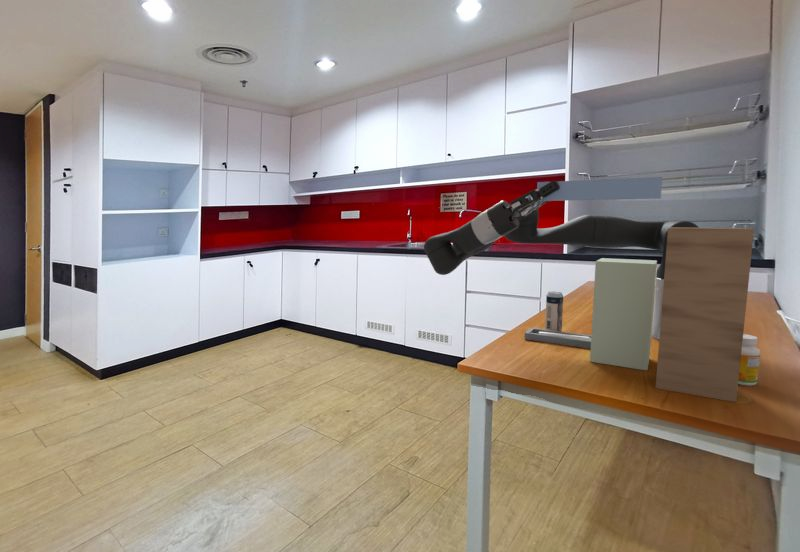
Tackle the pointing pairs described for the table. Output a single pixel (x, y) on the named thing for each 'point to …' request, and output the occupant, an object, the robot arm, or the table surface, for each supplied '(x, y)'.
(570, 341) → the pen tray
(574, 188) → the blue block
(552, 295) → the beer can
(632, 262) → the pale green tall block
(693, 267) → the walnut stand
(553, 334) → the white hexagonal pencil
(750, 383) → the supplement bottle
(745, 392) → the table surface
